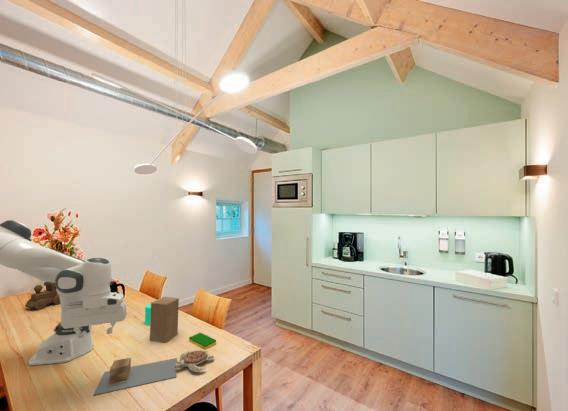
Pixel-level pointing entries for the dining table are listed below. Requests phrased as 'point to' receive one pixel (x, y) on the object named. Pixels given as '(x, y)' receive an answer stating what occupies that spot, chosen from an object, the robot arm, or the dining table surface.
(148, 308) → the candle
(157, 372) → the mat
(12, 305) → the dining table surface
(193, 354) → the decorative turtle
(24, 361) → the dining table surface
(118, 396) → the dining table surface
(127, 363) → the letter cube
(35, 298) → the wooden toy train
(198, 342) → the dish sponge
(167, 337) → the wooden block
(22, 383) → the dining table surface
